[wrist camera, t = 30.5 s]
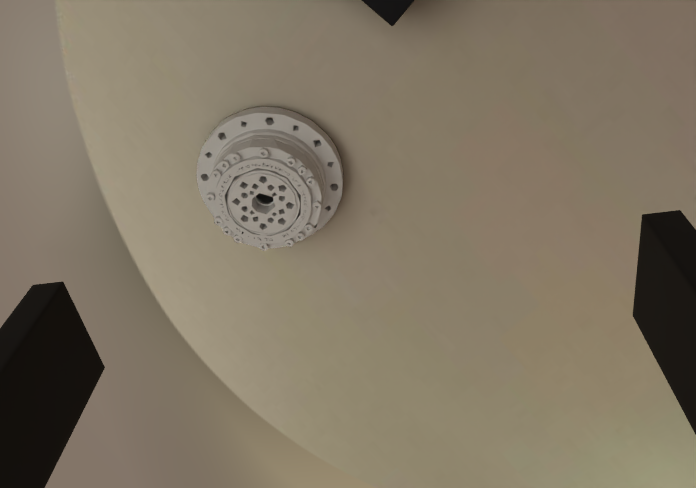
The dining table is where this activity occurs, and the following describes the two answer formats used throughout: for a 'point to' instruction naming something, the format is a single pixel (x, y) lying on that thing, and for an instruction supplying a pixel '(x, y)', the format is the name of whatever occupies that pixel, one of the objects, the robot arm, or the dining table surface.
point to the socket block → (389, 8)
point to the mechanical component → (269, 177)
